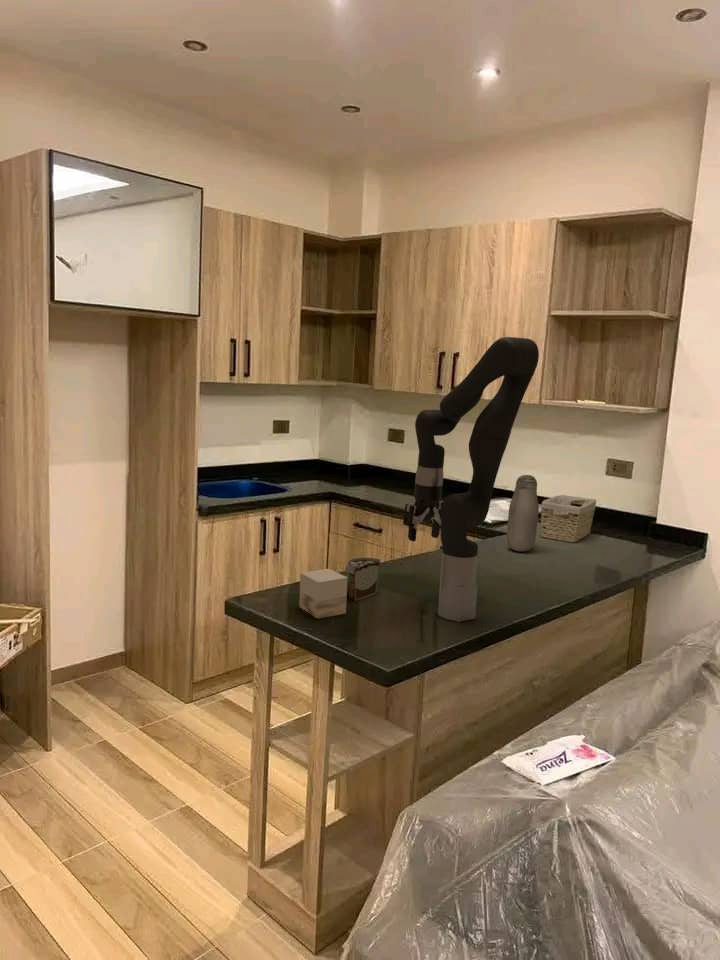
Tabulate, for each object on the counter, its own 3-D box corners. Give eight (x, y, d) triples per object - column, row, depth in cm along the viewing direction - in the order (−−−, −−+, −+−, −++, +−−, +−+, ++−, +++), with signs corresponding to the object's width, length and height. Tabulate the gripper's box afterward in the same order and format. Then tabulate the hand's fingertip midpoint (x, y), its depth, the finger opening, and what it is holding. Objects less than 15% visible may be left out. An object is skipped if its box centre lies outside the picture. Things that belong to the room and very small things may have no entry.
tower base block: (345, 614, 194) (346, 596, 193) (316, 619, 189) (317, 601, 188) (327, 603, 201) (328, 586, 200) (299, 608, 196) (299, 591, 195)
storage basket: (555, 527, 310) (559, 493, 307) (594, 534, 301) (598, 499, 299) (536, 537, 290) (539, 501, 287) (577, 545, 281) (581, 507, 279)
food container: (362, 587, 216) (364, 554, 215) (379, 592, 212) (381, 559, 211) (335, 596, 207) (336, 562, 205) (351, 602, 203) (353, 567, 201)
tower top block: (346, 595, 193) (347, 577, 192) (317, 601, 188) (318, 582, 187) (328, 586, 200) (329, 568, 200) (299, 591, 195) (300, 572, 194)
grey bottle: (523, 555, 261) (530, 478, 256) (500, 549, 268) (506, 473, 264) (539, 552, 267) (547, 476, 263) (516, 545, 275) (523, 472, 270)
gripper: (418, 486, 194) (413, 545, 197) (457, 483, 203) (451, 539, 206) (400, 481, 200) (395, 538, 203) (438, 477, 208) (432, 532, 212)
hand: (423, 539), depth 204 cm, fingers open, 8 cm apart
